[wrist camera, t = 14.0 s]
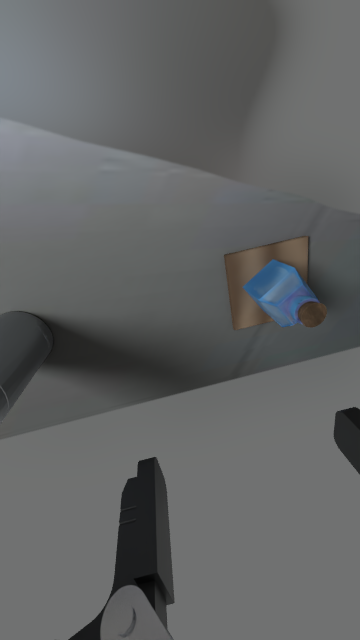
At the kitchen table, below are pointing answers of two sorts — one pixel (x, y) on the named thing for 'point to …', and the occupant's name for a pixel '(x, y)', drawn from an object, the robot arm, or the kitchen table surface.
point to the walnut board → (248, 265)
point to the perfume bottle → (285, 296)
